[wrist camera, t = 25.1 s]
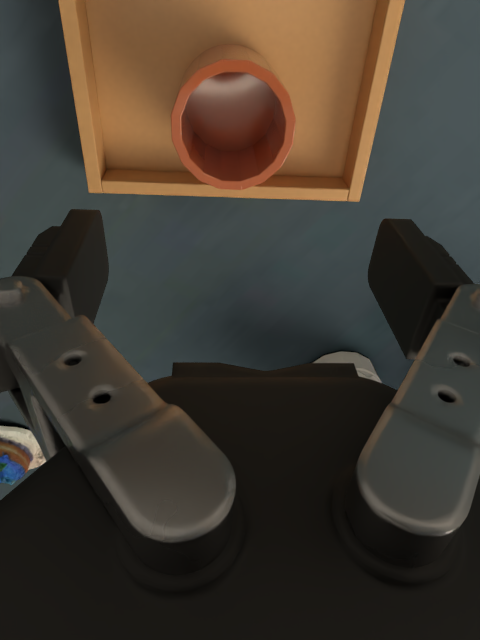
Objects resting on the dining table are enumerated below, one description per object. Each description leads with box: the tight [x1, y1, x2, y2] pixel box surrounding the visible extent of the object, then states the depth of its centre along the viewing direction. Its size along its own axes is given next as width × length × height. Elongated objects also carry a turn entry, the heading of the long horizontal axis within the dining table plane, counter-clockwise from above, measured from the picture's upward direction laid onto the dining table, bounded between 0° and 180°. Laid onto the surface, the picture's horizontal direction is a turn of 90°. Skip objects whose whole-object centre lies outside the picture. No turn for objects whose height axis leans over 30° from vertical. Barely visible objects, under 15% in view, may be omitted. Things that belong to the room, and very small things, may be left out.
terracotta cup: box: [171, 44, 296, 190], centre depth 24 cm, size 6×6×6 cm
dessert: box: [0, 426, 46, 485], centre depth 45 cm, size 8×7×6 cm
